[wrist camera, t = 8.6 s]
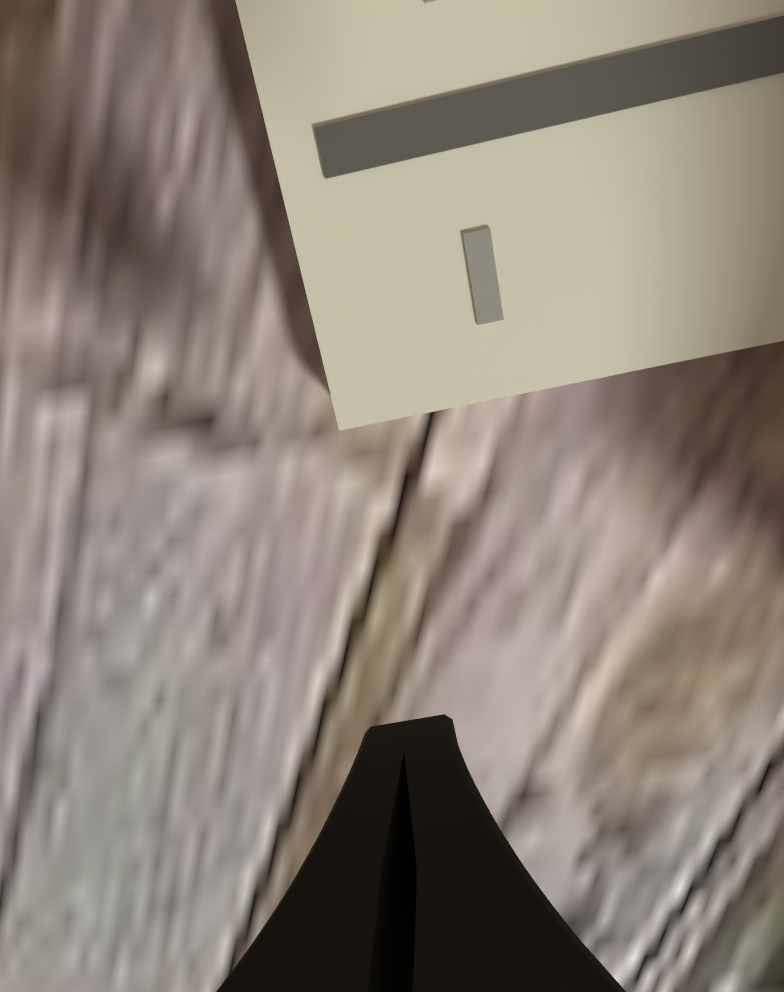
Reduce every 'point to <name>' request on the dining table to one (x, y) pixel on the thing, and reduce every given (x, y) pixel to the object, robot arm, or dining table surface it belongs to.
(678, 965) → the dining table surface
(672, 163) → the fader console
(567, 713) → the dining table surface
